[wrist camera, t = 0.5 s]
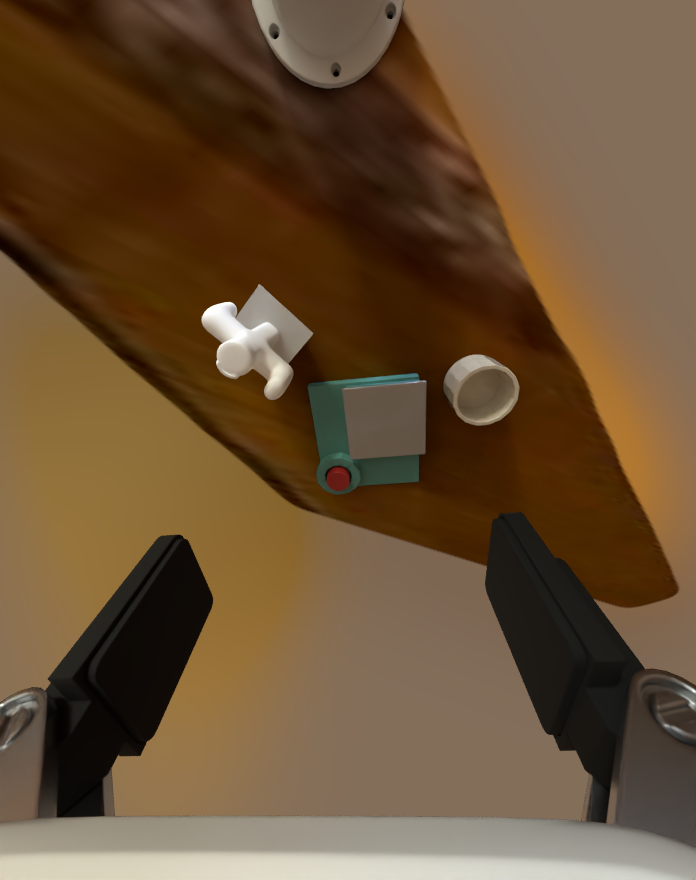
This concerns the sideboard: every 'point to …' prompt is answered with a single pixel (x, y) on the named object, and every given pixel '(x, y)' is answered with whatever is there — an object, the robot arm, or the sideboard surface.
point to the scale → (335, 439)
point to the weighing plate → (386, 419)
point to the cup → (480, 389)
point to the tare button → (338, 478)
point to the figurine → (257, 339)
